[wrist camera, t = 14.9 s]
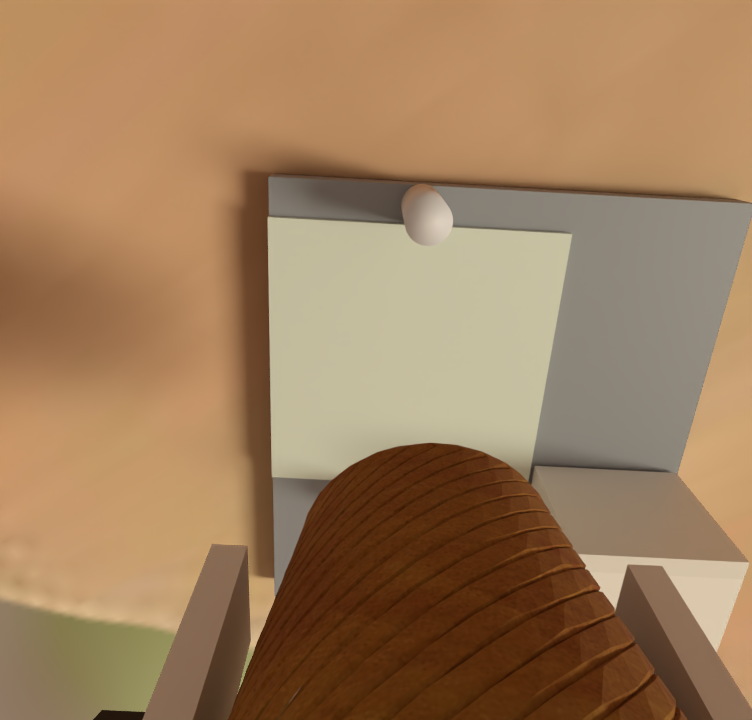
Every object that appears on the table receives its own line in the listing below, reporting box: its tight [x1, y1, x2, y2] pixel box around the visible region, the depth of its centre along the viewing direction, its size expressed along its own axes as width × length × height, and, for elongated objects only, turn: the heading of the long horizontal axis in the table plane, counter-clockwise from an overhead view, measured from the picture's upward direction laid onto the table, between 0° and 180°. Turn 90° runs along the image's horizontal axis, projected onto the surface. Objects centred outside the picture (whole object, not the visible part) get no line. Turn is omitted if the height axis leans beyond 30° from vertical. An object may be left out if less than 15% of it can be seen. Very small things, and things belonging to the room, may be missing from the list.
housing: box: [531, 466, 750, 653], centre depth 27 cm, size 9×7×6 cm
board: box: [268, 174, 752, 596], centre depth 26 cm, size 21×19×5 cm
